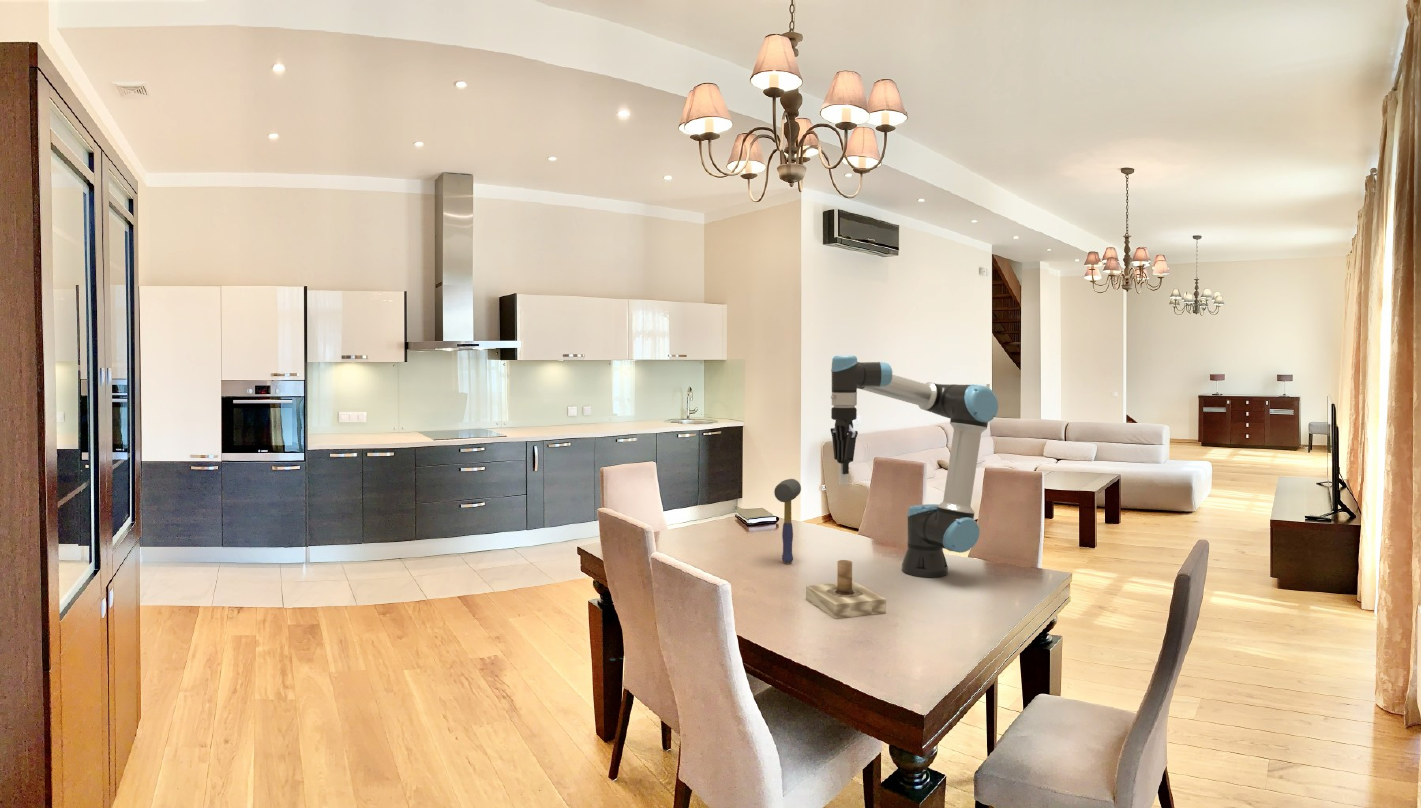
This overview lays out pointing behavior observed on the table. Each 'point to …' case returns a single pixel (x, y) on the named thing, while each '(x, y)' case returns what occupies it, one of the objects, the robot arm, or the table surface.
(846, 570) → the peg
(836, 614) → the board
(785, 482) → the rubber mallet
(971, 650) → the table surface
